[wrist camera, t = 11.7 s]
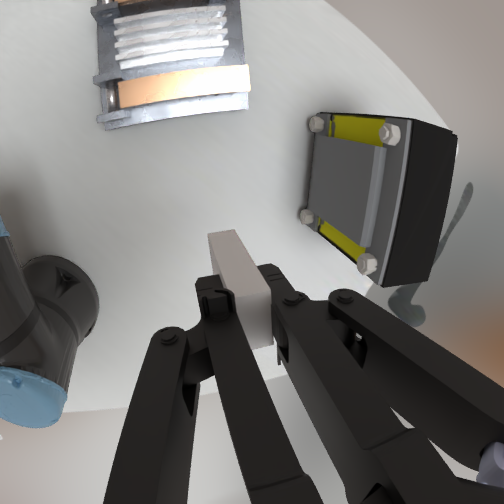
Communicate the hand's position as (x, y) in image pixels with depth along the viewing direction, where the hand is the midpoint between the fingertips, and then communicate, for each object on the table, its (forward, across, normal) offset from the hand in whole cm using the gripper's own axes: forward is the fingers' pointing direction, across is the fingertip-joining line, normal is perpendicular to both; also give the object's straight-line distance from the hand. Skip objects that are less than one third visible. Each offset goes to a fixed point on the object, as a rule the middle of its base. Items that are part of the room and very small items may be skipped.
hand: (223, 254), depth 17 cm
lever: (+20, 0, +12) cm, 23 cm away
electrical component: (+27, +21, -2) cm, 34 cm away
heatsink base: (+26, -1, +18) cm, 32 cm away
